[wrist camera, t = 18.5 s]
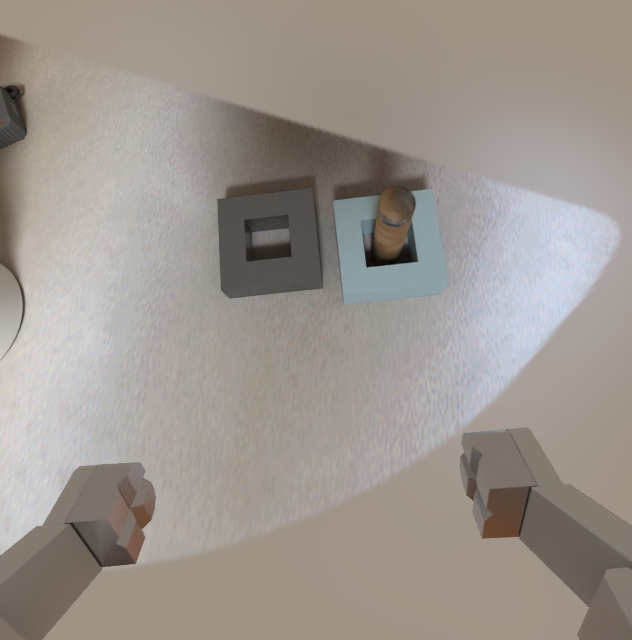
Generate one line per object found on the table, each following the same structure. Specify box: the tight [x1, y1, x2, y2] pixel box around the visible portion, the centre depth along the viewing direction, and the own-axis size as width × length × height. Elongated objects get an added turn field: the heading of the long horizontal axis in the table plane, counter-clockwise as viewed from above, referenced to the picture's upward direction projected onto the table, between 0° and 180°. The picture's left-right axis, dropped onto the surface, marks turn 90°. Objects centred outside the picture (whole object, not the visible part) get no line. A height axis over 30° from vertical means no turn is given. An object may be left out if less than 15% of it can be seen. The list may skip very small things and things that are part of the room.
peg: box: [371, 187, 416, 266], centre depth 40 cm, size 3×3×11 cm
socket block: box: [218, 188, 323, 298], centre depth 44 cm, size 10×10×3 cm
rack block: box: [333, 189, 449, 304], centre depth 43 cm, size 10×10×4 cm
